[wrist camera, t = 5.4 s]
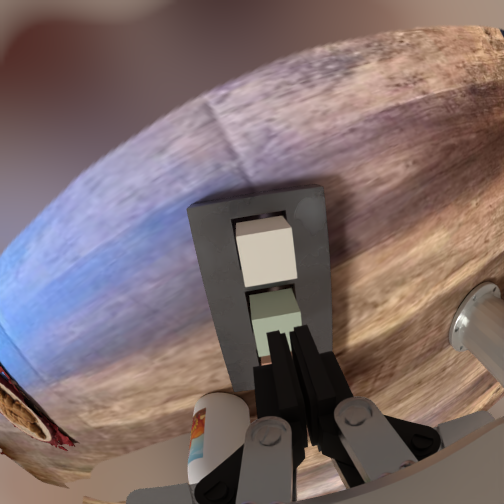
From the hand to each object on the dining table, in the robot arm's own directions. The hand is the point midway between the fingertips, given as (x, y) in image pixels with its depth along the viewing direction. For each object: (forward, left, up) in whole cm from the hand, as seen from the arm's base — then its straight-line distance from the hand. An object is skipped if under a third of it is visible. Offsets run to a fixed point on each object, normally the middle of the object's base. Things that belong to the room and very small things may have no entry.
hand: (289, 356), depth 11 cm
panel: (0, +6, -17) cm, 18 cm away
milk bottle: (+9, +23, -18) cm, 31 cm away
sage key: (0, +6, -15) cm, 16 cm away
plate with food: (+61, +29, -18) cm, 70 cm away
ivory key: (0, -1, -15) cm, 15 cm away
